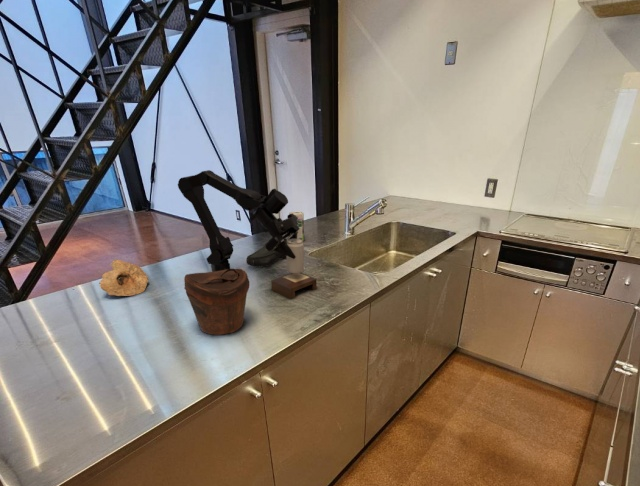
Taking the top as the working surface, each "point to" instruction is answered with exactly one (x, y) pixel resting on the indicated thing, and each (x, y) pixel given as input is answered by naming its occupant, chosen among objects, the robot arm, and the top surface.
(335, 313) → the top surface
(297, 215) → the syrup box
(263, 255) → the loafer
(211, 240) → the robot arm
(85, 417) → the top surface
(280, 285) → the wooden display riser
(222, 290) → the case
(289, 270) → the beverage can
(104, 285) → the tan lumpy piece
